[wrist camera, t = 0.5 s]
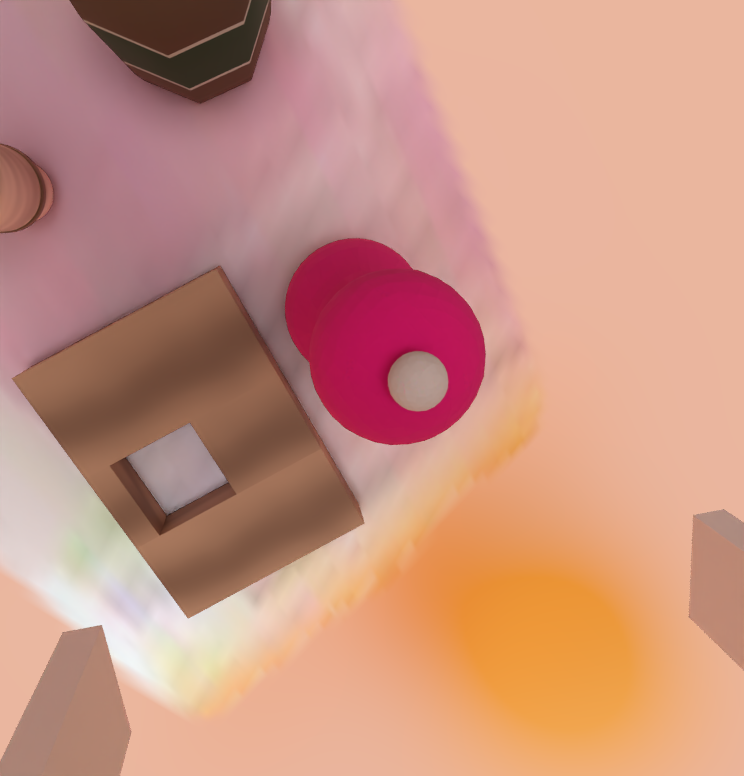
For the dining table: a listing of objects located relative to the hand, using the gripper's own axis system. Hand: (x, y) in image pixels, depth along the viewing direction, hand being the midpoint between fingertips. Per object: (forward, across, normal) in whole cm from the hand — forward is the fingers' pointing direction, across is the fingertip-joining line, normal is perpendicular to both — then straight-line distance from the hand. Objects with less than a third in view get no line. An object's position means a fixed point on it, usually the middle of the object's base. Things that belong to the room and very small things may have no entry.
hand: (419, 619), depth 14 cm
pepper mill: (+25, +2, +3) cm, 25 cm away
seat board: (+25, -8, -4) cm, 26 cm away
